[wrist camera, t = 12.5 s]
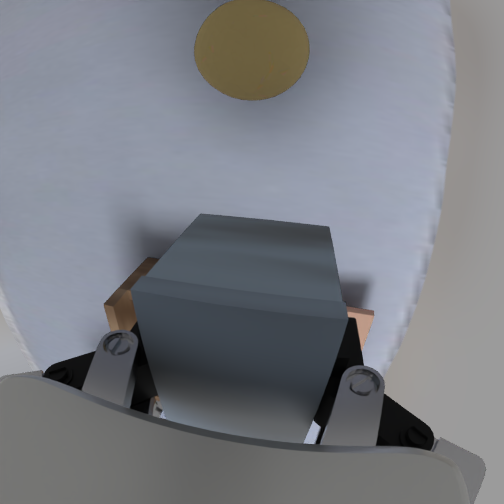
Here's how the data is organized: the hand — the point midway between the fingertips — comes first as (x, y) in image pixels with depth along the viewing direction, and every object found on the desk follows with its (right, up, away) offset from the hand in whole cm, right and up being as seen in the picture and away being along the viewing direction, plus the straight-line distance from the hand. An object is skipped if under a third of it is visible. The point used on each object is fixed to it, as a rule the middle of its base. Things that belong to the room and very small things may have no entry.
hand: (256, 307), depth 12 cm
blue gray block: (0, 0, 0) cm, 0 cm away
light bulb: (+1, +17, +9) cm, 19 cm away
